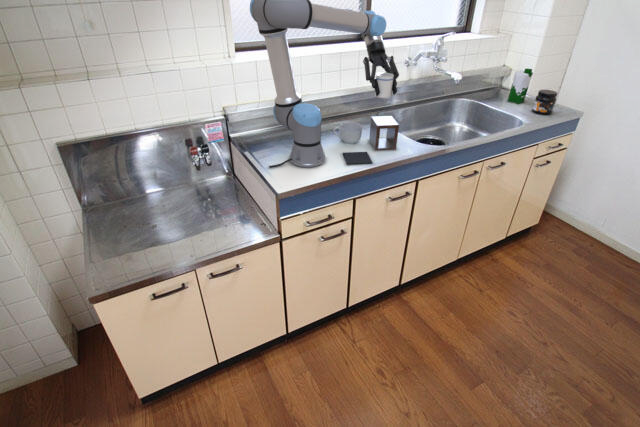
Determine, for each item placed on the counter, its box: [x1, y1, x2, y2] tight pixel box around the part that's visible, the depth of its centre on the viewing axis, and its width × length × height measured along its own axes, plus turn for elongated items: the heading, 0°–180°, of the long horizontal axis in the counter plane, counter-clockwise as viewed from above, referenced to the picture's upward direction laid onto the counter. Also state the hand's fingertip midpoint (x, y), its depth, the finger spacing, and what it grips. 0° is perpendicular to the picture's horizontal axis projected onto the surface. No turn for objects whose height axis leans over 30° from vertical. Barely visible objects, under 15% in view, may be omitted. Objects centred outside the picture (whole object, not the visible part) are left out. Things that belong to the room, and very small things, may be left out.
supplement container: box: [531, 89, 558, 116], centre depth 221 cm, size 10×10×12 cm
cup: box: [374, 72, 394, 99], centre depth 165 cm, size 7×7×9 cm
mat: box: [342, 151, 373, 166], centre depth 170 cm, size 11×11×1 cm
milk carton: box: [507, 68, 534, 105], centre depth 236 cm, size 9×9×20 cm
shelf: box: [368, 115, 400, 152], centre depth 180 cm, size 10×12×12 cm
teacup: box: [332, 121, 363, 145], centre depth 184 cm, size 14×11×8 cm
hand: (386, 93), depth 163 cm, fingers closed on cup, 7 cm apart
